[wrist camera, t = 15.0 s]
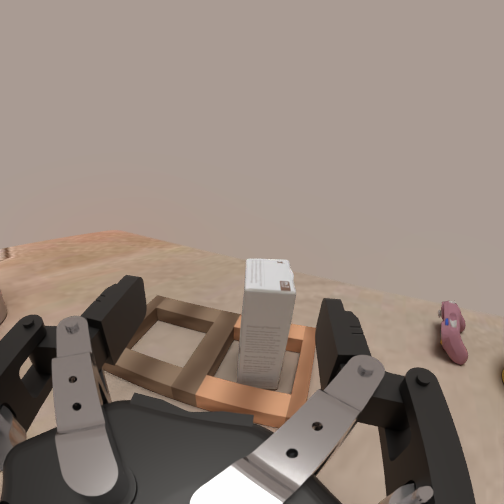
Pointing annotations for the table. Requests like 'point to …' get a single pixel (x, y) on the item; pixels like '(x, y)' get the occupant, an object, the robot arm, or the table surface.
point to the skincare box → (265, 321)
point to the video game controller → (452, 332)
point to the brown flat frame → (214, 365)
